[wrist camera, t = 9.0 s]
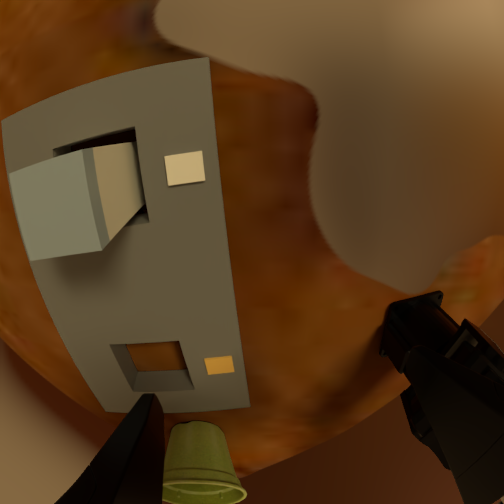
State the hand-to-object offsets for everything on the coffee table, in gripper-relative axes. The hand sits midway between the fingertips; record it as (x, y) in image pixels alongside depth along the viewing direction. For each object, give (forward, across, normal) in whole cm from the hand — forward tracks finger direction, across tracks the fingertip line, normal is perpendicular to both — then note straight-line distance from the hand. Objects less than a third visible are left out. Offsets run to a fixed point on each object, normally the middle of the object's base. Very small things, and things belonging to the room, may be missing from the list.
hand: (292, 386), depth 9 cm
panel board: (+12, +8, +1) cm, 15 cm away
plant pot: (+12, +8, +22) cm, 26 cm away
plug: (+12, +8, -6) cm, 16 cm away
